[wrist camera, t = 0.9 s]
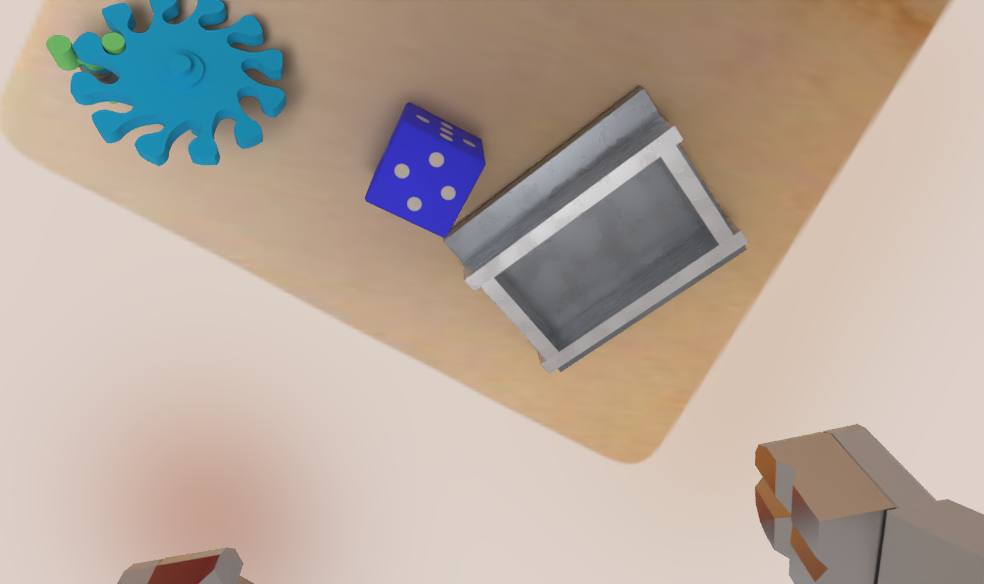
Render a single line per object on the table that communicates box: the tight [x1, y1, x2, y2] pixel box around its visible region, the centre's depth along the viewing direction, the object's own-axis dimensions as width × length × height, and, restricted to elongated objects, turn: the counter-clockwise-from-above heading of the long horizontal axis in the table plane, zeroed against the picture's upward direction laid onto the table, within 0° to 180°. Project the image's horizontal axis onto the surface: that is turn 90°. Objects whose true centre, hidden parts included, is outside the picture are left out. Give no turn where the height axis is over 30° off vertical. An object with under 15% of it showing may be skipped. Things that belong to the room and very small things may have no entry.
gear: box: [46, 0, 286, 166], centre depth 34 cm, size 11×6×10 cm
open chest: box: [444, 86, 748, 374], centre depth 40 cm, size 15×13×4 cm
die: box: [365, 103, 485, 237], centre depth 36 cm, size 5×5×5 cm
